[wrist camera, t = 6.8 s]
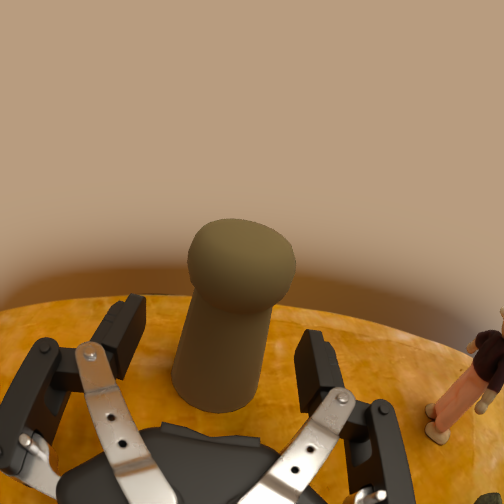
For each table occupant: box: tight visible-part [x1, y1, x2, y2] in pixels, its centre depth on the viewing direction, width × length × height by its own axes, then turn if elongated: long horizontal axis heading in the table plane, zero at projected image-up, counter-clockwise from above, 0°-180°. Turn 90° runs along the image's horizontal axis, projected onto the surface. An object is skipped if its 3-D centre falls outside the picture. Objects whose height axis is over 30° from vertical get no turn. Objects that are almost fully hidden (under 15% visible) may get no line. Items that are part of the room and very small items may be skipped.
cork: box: [171, 219, 296, 413], centre depth 15 cm, size 6×6×11 cm
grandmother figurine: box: [425, 306, 504, 445], centre depth 13 cm, size 8×4×13 cm, turn 162°
